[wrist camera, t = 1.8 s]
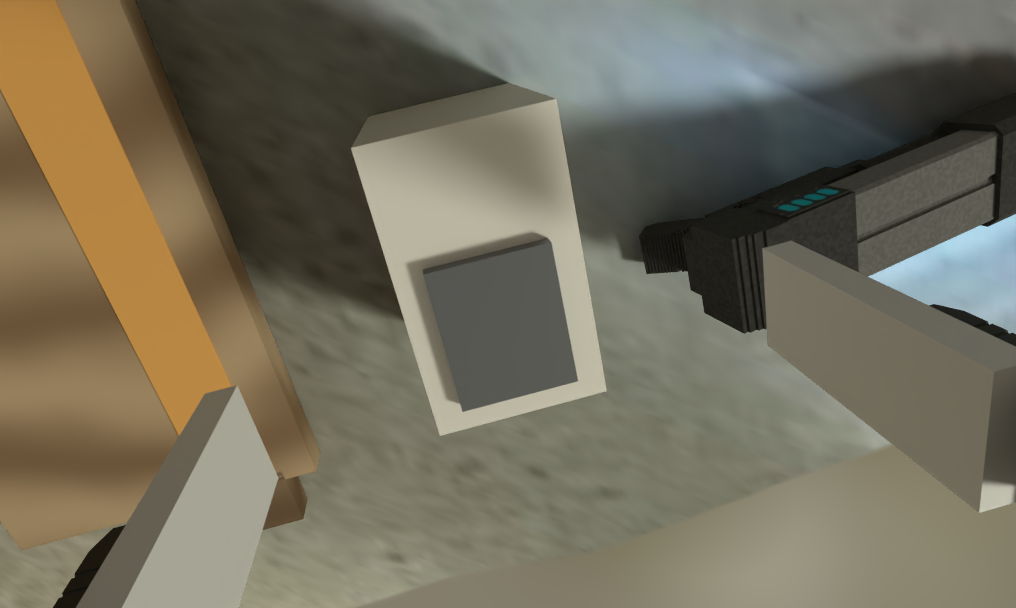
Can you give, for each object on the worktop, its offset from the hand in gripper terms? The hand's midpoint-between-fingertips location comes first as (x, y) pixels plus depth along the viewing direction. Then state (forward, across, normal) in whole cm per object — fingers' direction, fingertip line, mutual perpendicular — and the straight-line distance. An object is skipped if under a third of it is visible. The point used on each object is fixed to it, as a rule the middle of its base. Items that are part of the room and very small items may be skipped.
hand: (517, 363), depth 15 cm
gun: (+14, +18, -2) cm, 23 cm away
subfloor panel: (+14, -17, +2) cm, 22 cm away
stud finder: (+14, 0, 0) cm, 14 cm away
